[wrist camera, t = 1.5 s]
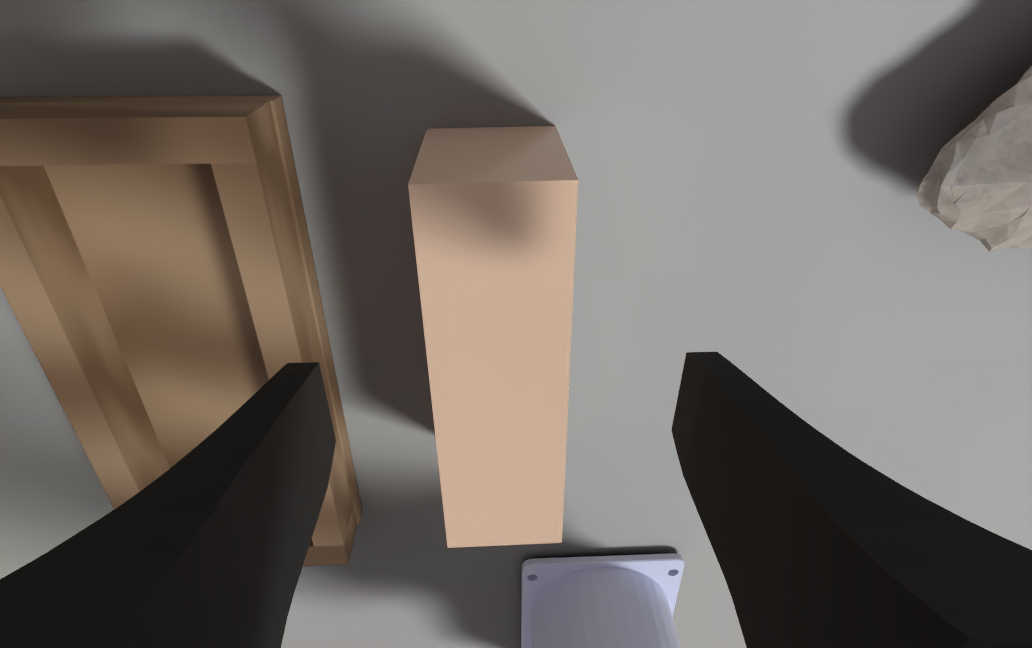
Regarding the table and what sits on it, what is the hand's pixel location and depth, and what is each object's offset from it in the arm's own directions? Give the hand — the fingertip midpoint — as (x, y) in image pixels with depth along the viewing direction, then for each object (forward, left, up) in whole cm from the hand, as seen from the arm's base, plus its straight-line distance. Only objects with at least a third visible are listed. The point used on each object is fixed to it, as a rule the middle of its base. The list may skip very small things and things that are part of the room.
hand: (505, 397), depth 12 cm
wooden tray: (-5, +11, -10) cm, 15 cm away
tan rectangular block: (-4, 0, -10) cm, 10 cm away
